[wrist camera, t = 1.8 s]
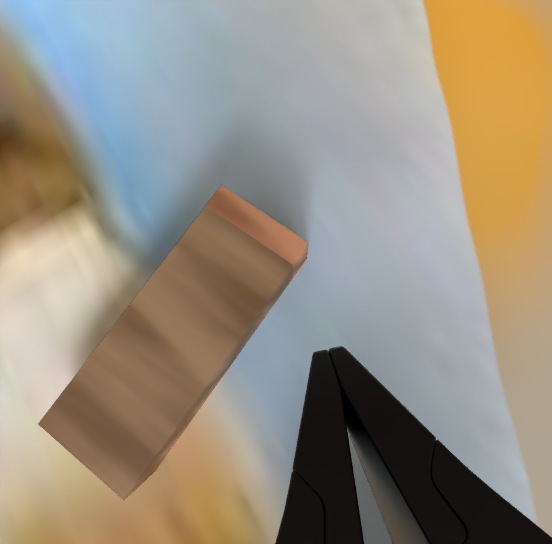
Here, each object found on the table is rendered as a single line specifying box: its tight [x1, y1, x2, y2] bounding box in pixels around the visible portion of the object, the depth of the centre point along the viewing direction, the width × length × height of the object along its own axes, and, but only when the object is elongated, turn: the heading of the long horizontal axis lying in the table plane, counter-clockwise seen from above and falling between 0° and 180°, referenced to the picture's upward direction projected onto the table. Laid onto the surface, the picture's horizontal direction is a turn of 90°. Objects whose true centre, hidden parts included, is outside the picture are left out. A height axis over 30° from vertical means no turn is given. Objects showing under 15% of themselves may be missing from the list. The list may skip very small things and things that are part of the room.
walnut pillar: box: [38, 185, 308, 500], centre depth 21 cm, size 4×6×16 cm
